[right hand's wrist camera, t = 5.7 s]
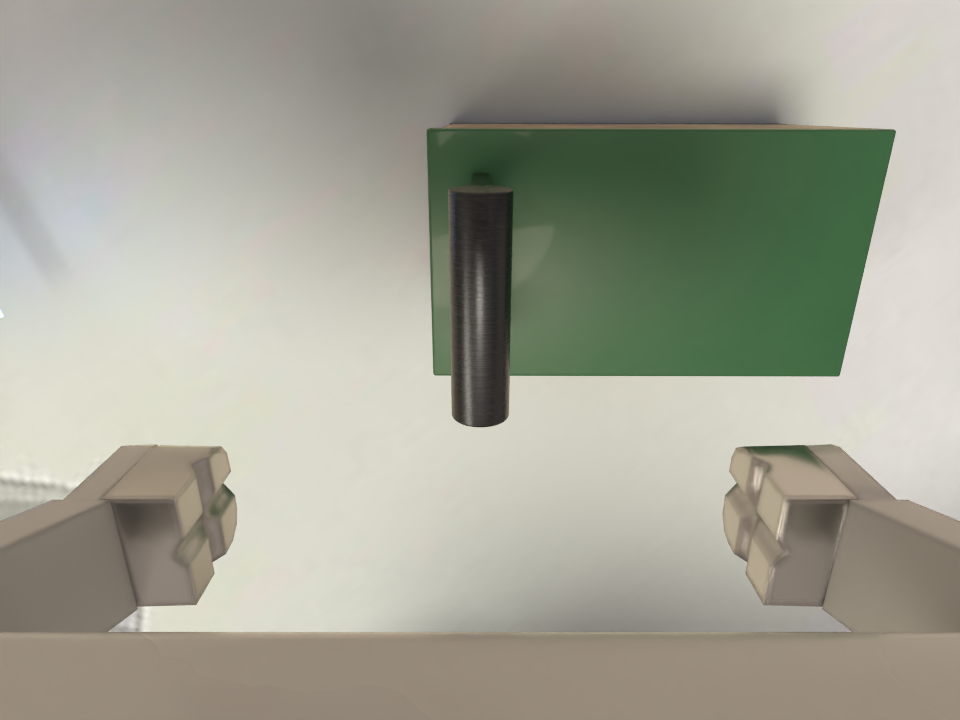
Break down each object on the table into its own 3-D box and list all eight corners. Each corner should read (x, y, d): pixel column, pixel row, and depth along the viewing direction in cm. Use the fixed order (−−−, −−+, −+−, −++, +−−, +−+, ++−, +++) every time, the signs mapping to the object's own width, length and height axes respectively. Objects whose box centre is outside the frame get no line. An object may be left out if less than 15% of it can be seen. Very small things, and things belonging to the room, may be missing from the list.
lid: (435, 364, 28) (416, 467, 20) (429, 127, 24) (403, 136, 16) (824, 365, 28) (963, 469, 20) (877, 128, 24) (1072, 137, 16)
